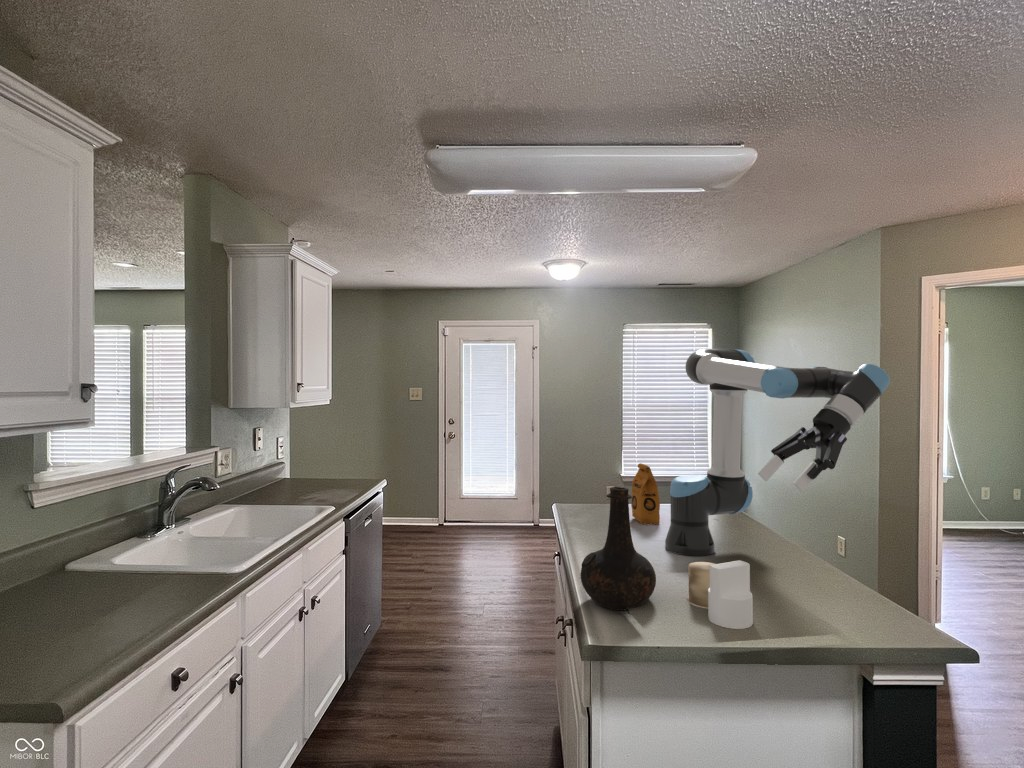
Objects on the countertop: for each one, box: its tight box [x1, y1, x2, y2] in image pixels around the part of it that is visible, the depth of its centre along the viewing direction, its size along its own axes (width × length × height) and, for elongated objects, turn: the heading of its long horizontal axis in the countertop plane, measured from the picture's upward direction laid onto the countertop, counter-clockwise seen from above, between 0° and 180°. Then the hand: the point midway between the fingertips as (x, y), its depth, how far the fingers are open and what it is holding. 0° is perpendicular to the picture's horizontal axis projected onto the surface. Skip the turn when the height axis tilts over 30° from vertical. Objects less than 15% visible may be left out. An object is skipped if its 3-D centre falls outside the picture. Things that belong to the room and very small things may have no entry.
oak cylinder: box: [688, 561, 715, 608], centre depth 130 cm, size 8×8×8 cm
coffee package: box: [630, 462, 661, 525], centre depth 214 cm, size 10×12×22 cm
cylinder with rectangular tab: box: [707, 559, 754, 630], centre depth 119 cm, size 9×9×12 cm
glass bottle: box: [580, 486, 657, 611], centre depth 133 cm, size 18×18×28 cm
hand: (778, 482), depth 129 cm, fingers open, 13 cm apart
